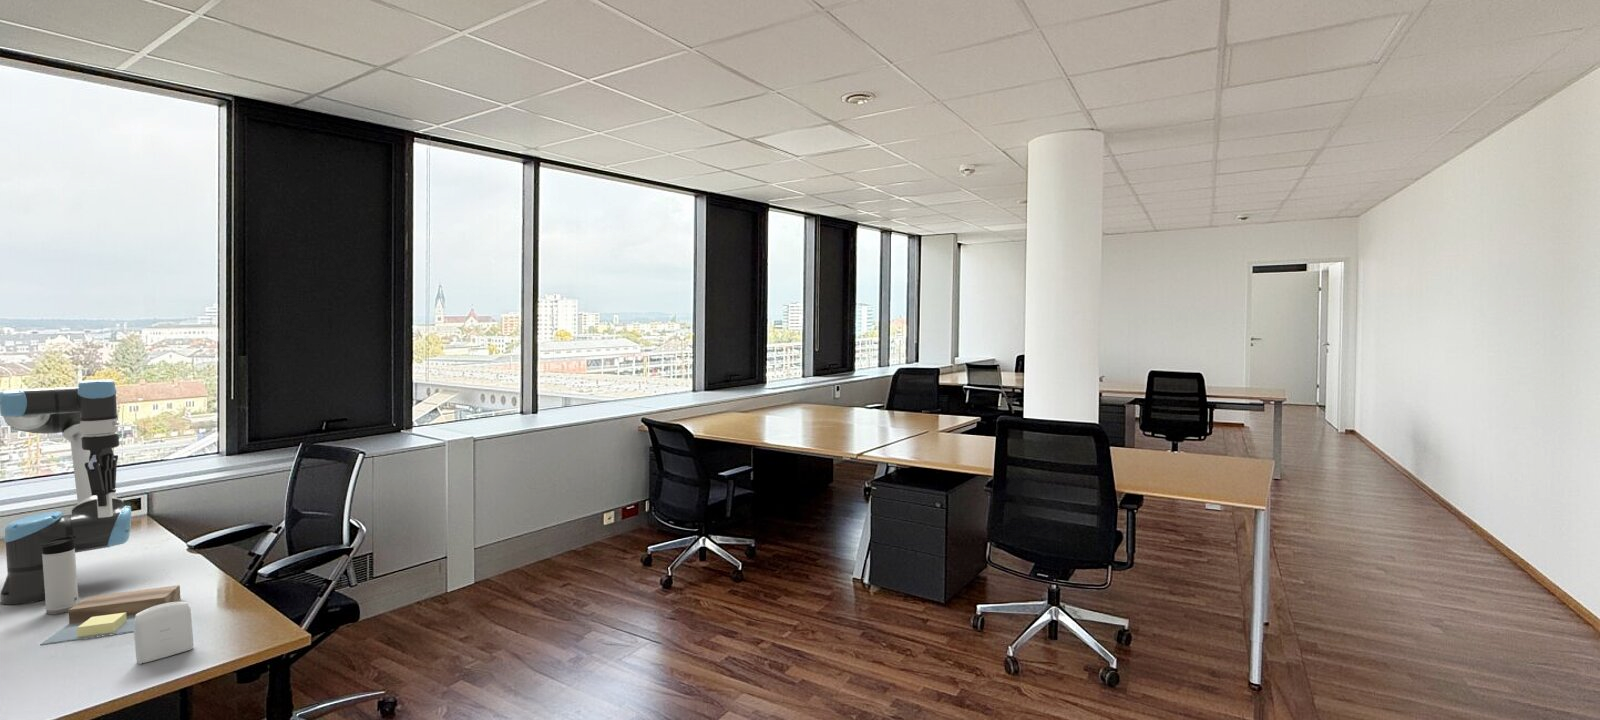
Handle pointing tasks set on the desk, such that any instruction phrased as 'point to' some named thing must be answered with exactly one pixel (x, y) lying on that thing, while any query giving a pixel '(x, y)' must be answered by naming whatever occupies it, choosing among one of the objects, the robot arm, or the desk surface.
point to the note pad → (101, 624)
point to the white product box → (163, 631)
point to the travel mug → (60, 575)
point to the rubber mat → (71, 634)
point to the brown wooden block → (122, 603)
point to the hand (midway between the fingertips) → (105, 516)
